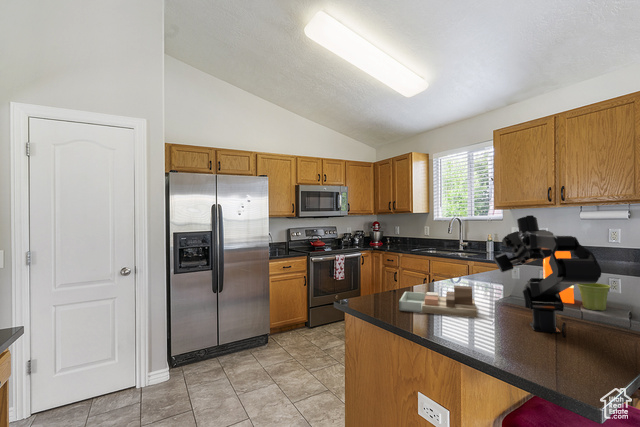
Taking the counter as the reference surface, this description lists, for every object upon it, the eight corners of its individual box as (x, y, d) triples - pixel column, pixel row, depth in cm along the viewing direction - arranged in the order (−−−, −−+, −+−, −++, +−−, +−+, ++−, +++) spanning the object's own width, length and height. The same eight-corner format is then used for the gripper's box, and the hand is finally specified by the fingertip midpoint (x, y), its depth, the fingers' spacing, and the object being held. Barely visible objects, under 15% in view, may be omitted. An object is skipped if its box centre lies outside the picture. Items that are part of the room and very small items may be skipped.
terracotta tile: (437, 305, 112) (437, 299, 112) (424, 304, 114) (424, 298, 114) (438, 302, 116) (437, 296, 116) (425, 301, 118) (425, 295, 118)
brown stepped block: (473, 308, 107) (472, 291, 107) (446, 306, 110) (445, 289, 110) (471, 299, 119) (470, 284, 119) (446, 297, 122) (446, 282, 122)
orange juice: (574, 303, 119) (572, 252, 119) (546, 300, 123) (544, 251, 124) (570, 298, 125) (568, 250, 126) (544, 296, 130) (542, 249, 130)
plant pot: (572, 307, 114) (571, 283, 114) (585, 303, 118) (584, 281, 118) (603, 313, 106) (602, 288, 106) (617, 309, 110) (615, 285, 110)
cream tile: (438, 300, 118) (438, 295, 118) (426, 299, 120) (426, 294, 120) (438, 297, 123) (438, 292, 123) (427, 296, 124) (426, 291, 124)
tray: (421, 312, 112) (421, 302, 112) (399, 310, 115) (399, 301, 115) (424, 301, 127) (424, 292, 127) (405, 299, 130) (405, 291, 130)
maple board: (477, 317, 105) (476, 310, 105) (422, 312, 112) (422, 305, 112) (474, 305, 119) (473, 298, 120) (425, 301, 127) (425, 295, 127)
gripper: (542, 220, 107) (530, 235, 120) (489, 238, 110) (482, 252, 123) (563, 248, 101) (547, 261, 115) (506, 267, 104) (497, 277, 118)
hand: (517, 262), depth 118 cm, fingers open, 9 cm apart
